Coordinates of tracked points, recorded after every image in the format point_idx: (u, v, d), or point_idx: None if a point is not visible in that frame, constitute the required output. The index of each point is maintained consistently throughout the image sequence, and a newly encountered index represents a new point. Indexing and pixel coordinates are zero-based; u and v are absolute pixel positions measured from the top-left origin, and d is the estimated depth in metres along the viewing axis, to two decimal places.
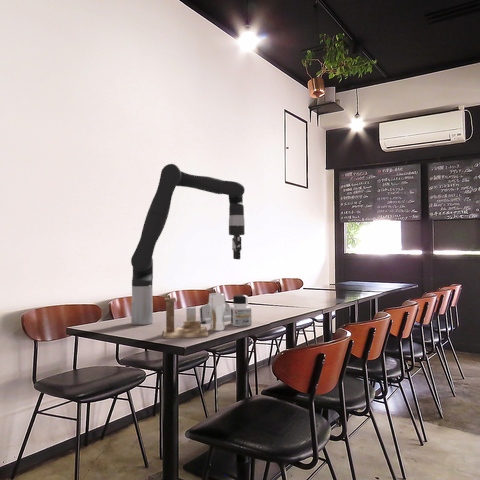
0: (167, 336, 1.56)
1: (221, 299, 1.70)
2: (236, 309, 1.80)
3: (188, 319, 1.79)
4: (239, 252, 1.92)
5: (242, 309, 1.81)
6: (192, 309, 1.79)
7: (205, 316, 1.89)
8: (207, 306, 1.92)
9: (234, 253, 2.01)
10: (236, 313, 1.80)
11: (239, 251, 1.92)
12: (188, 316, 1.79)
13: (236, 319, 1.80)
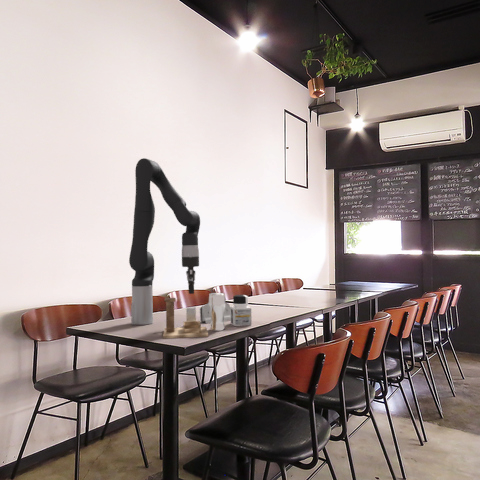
0: (167, 336, 1.56)
1: (221, 299, 1.70)
2: (236, 309, 1.80)
3: (188, 319, 1.79)
4: (192, 286, 1.77)
5: (242, 309, 1.81)
6: (192, 309, 1.79)
7: (205, 316, 1.89)
8: (207, 306, 1.92)
9: None
10: (236, 313, 1.80)
11: (192, 285, 1.77)
12: (188, 316, 1.79)
13: (236, 319, 1.80)
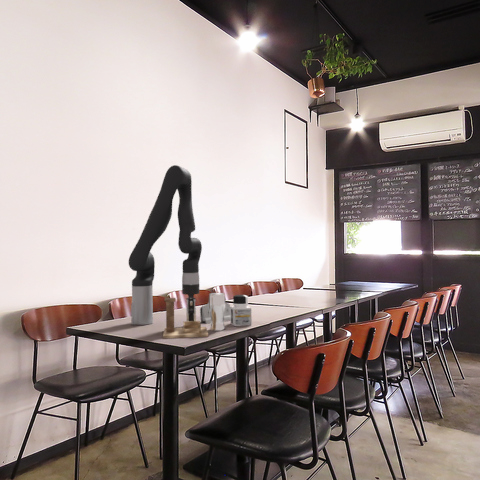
0: (167, 336, 1.56)
1: (221, 299, 1.70)
2: (236, 309, 1.80)
3: (188, 319, 1.79)
4: (192, 316, 1.78)
5: (242, 309, 1.81)
6: (192, 309, 1.79)
7: (205, 316, 1.89)
8: (207, 306, 1.92)
9: None
10: (236, 313, 1.80)
11: (192, 315, 1.78)
12: (188, 316, 1.79)
13: (236, 319, 1.80)
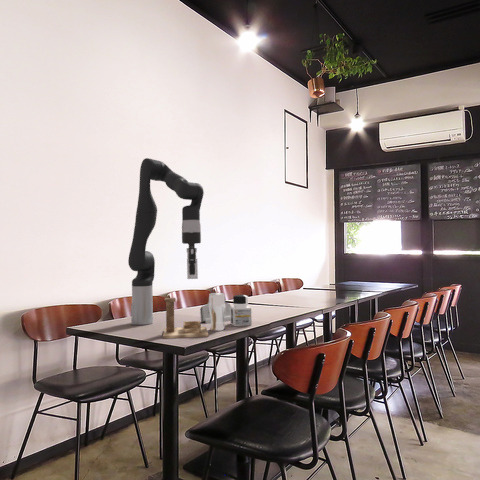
0: (167, 336, 1.56)
1: (221, 299, 1.70)
2: (236, 309, 1.80)
3: None
4: (193, 266, 1.63)
5: (242, 309, 1.81)
6: (193, 259, 1.65)
7: (205, 316, 1.90)
8: (207, 306, 1.92)
9: None
10: (236, 313, 1.80)
11: (193, 265, 1.63)
12: None
13: (236, 319, 1.80)
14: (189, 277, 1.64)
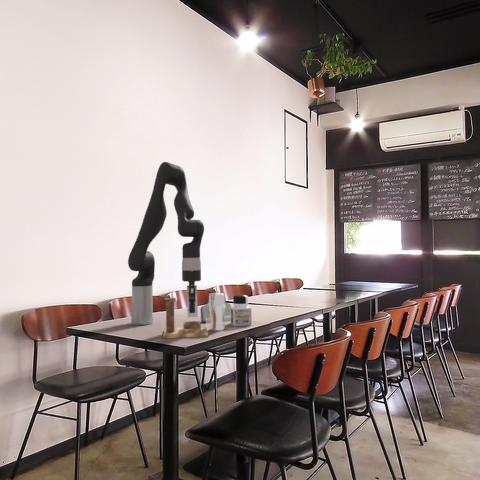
0: (167, 336, 1.56)
1: (221, 299, 1.70)
2: (236, 309, 1.80)
3: None
4: (193, 305, 1.62)
5: (242, 309, 1.81)
6: None
7: (205, 316, 1.90)
8: (208, 306, 1.92)
9: None
10: (236, 313, 1.80)
11: (193, 303, 1.62)
12: None
13: (236, 319, 1.80)
14: (189, 315, 1.63)
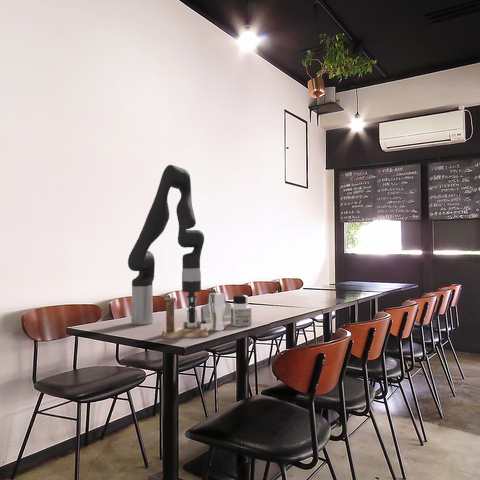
0: (167, 336, 1.56)
1: (221, 299, 1.70)
2: (236, 309, 1.80)
3: (189, 323, 1.63)
4: (193, 315, 1.61)
5: (242, 309, 1.81)
6: None
7: (205, 316, 1.90)
8: (208, 306, 1.93)
9: None
10: (236, 313, 1.80)
11: (193, 313, 1.61)
12: None
13: (236, 319, 1.80)
14: None
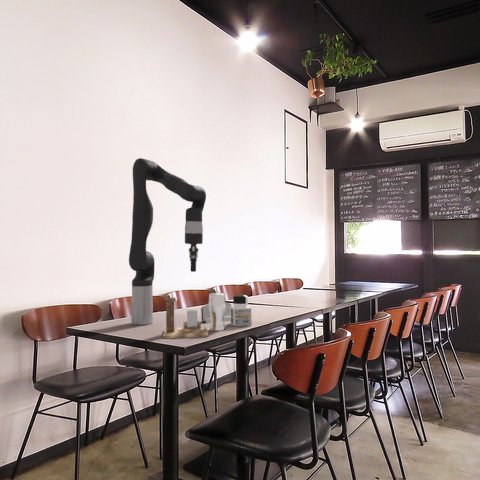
0: (167, 336, 1.56)
1: (221, 299, 1.70)
2: (236, 309, 1.80)
3: (189, 323, 1.63)
4: (194, 263, 1.69)
5: (242, 309, 1.81)
6: (193, 312, 1.64)
7: (206, 316, 1.90)
8: (208, 306, 1.93)
9: None
10: (236, 313, 1.80)
11: (194, 262, 1.69)
12: (189, 319, 1.63)
13: (236, 319, 1.80)
14: None
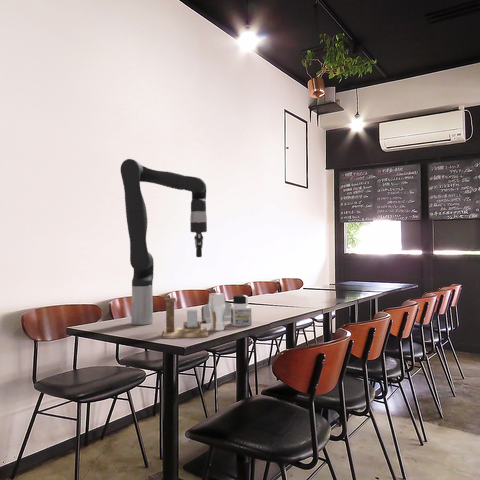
0: (167, 336, 1.56)
1: (221, 299, 1.70)
2: (236, 309, 1.80)
3: (189, 323, 1.63)
4: (200, 250, 1.85)
5: (242, 309, 1.81)
6: (193, 312, 1.64)
7: (206, 315, 1.91)
8: (208, 306, 1.93)
9: (197, 251, 1.94)
10: (236, 313, 1.80)
11: (200, 249, 1.85)
12: (189, 319, 1.63)
13: (236, 319, 1.80)
14: None
